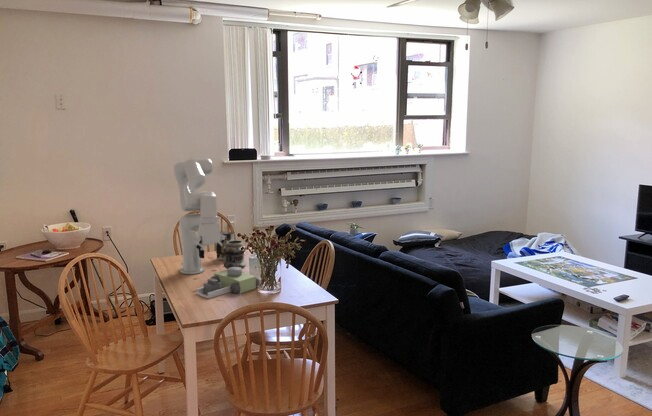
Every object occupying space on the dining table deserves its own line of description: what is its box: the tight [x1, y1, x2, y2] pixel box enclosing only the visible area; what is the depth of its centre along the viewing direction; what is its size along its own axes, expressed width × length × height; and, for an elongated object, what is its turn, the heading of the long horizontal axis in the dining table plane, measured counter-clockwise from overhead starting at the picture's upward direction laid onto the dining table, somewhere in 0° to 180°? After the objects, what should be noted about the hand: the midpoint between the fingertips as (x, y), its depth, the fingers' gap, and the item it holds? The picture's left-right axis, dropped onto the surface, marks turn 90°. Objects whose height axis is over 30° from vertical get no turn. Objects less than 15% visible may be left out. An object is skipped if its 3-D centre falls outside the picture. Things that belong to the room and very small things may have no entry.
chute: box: [202, 277, 221, 296], centre depth 245 cm, size 6×5×7 cm
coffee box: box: [216, 230, 235, 261], centre depth 305 cm, size 9×6×16 cm
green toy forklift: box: [195, 267, 261, 299], centre depth 250 cm, size 21×26×9 cm
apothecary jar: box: [223, 239, 247, 273], centre depth 274 cm, size 12×12×18 cm
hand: (210, 255), depth 242 cm, fingers open, 9 cm apart
